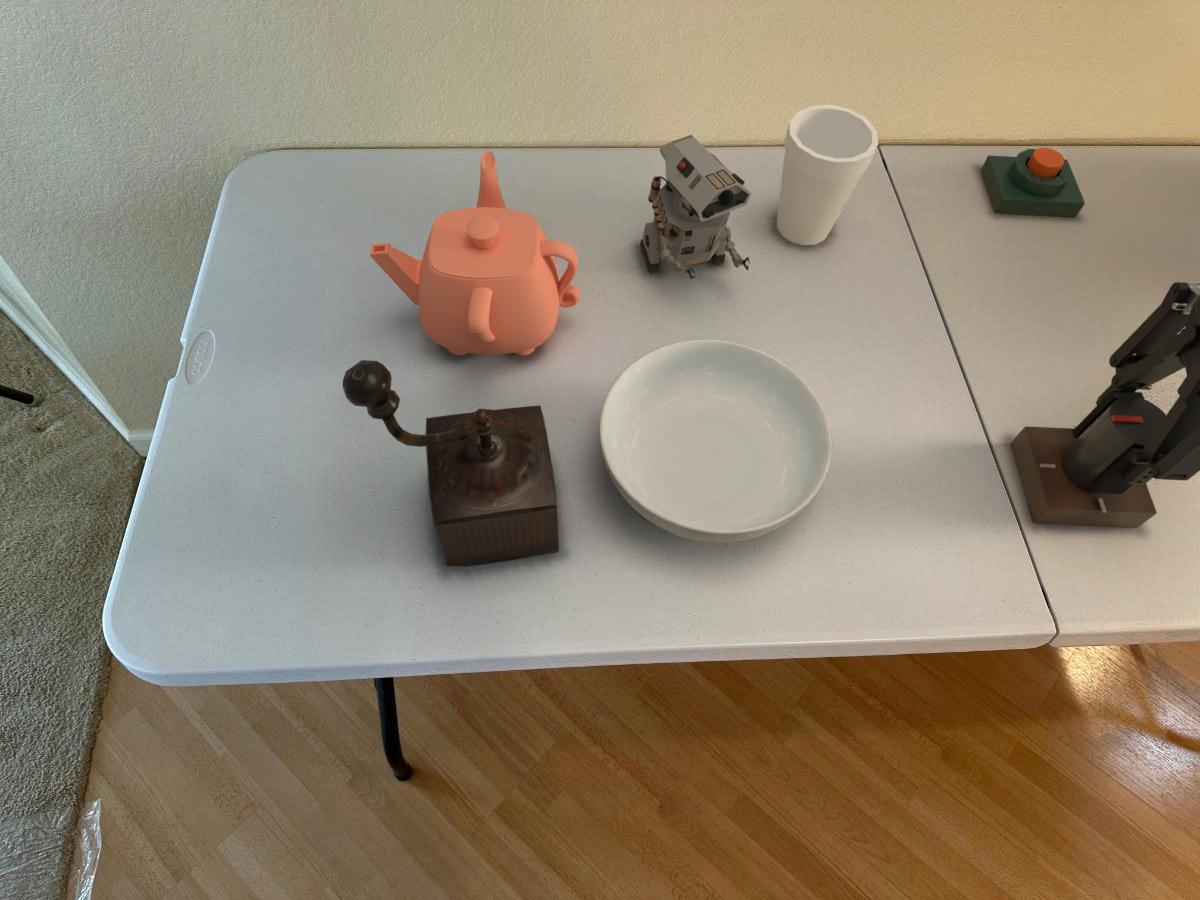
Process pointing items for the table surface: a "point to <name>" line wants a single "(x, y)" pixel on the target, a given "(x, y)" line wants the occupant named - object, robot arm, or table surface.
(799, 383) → the serving bowl
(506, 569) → the table surface
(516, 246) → the teapot
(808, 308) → the table surface
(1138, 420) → the pointer knob
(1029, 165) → the button
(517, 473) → the coffee grinder
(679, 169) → the figurine
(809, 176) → the foam cup
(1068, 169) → the button box
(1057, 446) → the dial panel
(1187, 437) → the robot arm
